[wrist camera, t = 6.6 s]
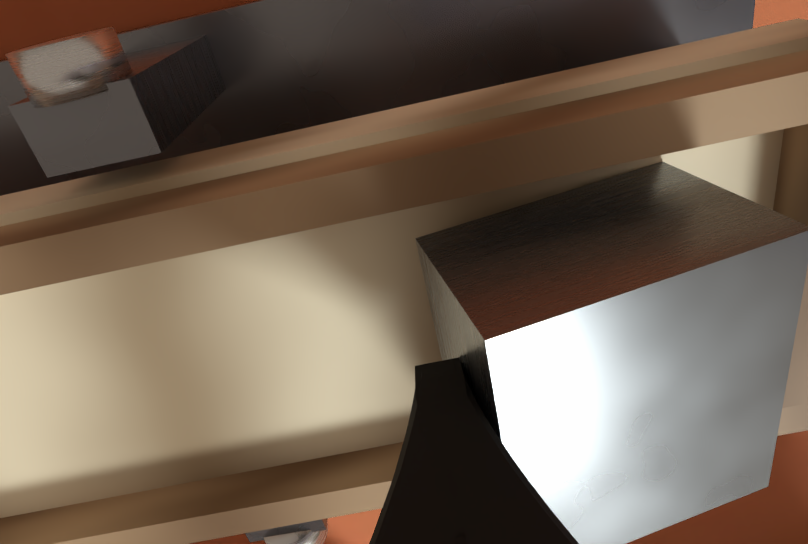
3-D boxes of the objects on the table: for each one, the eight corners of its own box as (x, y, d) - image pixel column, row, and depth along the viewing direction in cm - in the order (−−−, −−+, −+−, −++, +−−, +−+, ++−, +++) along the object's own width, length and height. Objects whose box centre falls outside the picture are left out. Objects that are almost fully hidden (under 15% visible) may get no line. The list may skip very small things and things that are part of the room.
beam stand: (754, -134, 12) (989, -177, 7) (712, 342, 18) (824, 479, 14) (-356, 130, 14) (-723, 227, 9) (-45, 477, 20) (-170, 637, 16)
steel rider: (662, 161, 10) (814, 228, 7) (656, 379, 12) (768, 486, 10) (415, 238, 9) (485, 341, 7) (461, 450, 12) (526, 583, 9)
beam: (798, 18, 10) (900, 37, 8) (751, 368, 14) (811, 435, 12) (-445, 294, 11) (-610, 367, 9) (-161, 541, 15) (-236, 627, 13)
